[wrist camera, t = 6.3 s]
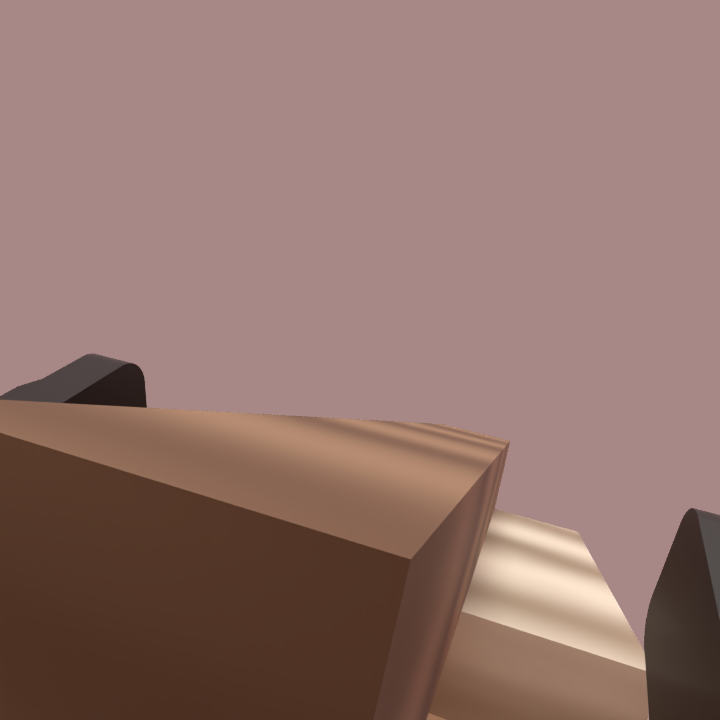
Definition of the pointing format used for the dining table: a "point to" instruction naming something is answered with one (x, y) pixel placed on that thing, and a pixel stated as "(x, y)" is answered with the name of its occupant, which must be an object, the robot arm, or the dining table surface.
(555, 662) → the birch stand
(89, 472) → the wood grain bar
